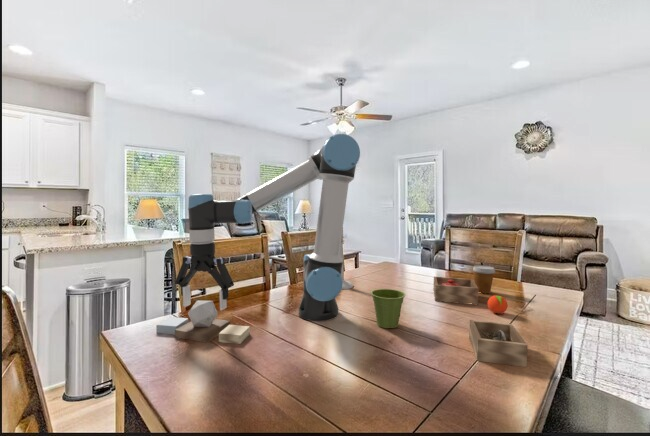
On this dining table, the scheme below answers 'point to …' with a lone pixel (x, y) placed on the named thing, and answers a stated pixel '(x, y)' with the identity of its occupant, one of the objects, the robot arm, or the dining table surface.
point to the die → (202, 313)
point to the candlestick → (345, 283)
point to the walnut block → (201, 331)
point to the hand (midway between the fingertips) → (204, 307)
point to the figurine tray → (497, 344)
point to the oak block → (234, 334)
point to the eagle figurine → (500, 333)
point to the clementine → (497, 304)
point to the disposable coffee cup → (483, 277)
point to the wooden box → (456, 290)
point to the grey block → (171, 325)
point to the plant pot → (387, 306)
